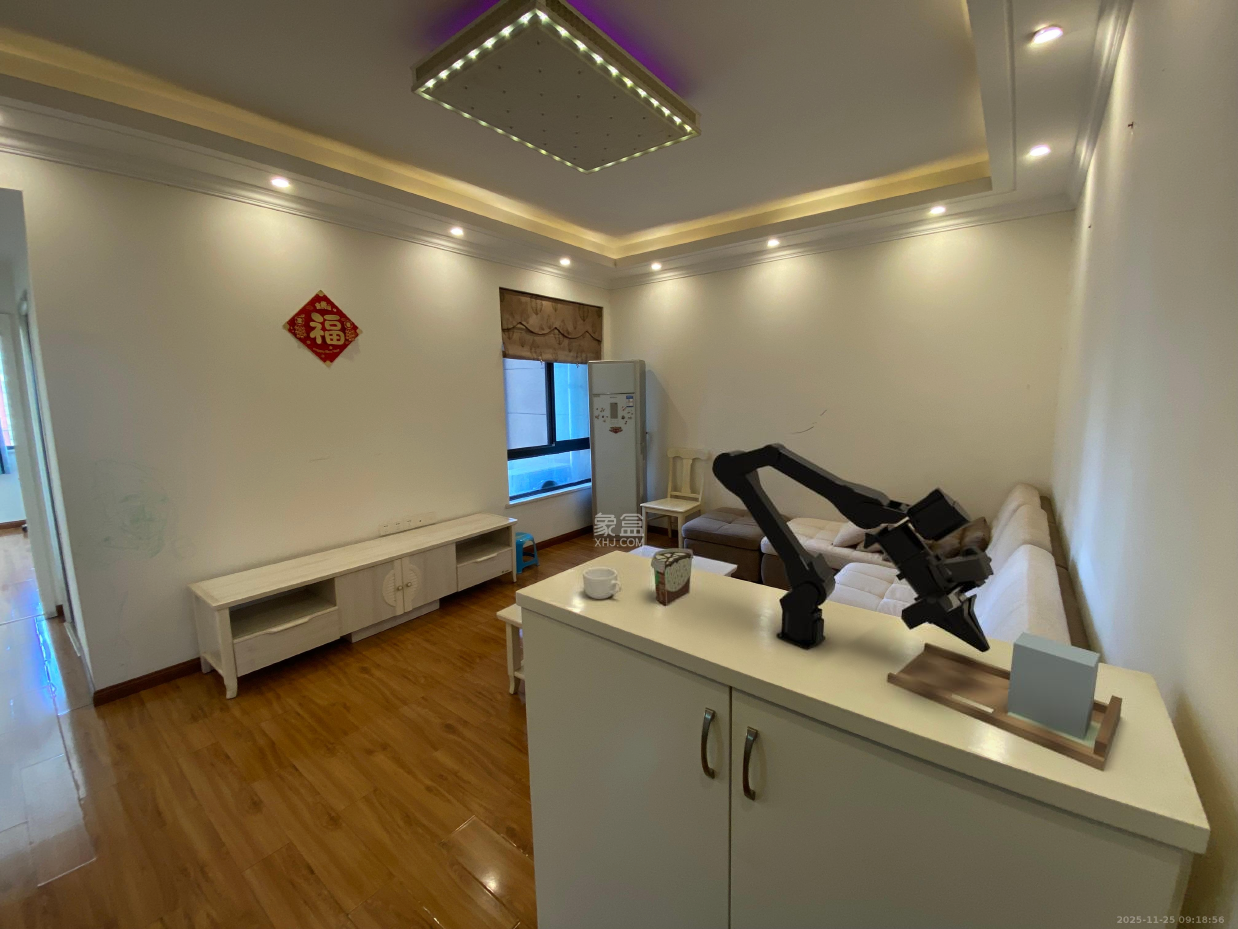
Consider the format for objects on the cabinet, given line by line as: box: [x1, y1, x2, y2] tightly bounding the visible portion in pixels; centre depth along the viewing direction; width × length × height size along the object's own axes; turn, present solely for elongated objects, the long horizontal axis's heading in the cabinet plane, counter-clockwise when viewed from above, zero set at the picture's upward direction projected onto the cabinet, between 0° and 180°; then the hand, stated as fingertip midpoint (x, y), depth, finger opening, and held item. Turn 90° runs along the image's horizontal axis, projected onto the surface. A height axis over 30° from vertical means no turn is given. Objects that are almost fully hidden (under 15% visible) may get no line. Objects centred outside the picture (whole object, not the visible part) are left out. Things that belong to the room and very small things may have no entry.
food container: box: [650, 548, 694, 607], centre depth 111 cm, size 12×6×10 cm, turn 141°
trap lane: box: [886, 642, 1123, 772], centre depth 72 cm, size 24×16×4 cm, turn 40°
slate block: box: [1006, 631, 1101, 740], centre depth 67 cm, size 8×5×10 cm, turn 40°
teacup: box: [582, 566, 622, 600], centre depth 112 cm, size 10×8×5 cm
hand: (986, 650), depth 72 cm, fingers closed
